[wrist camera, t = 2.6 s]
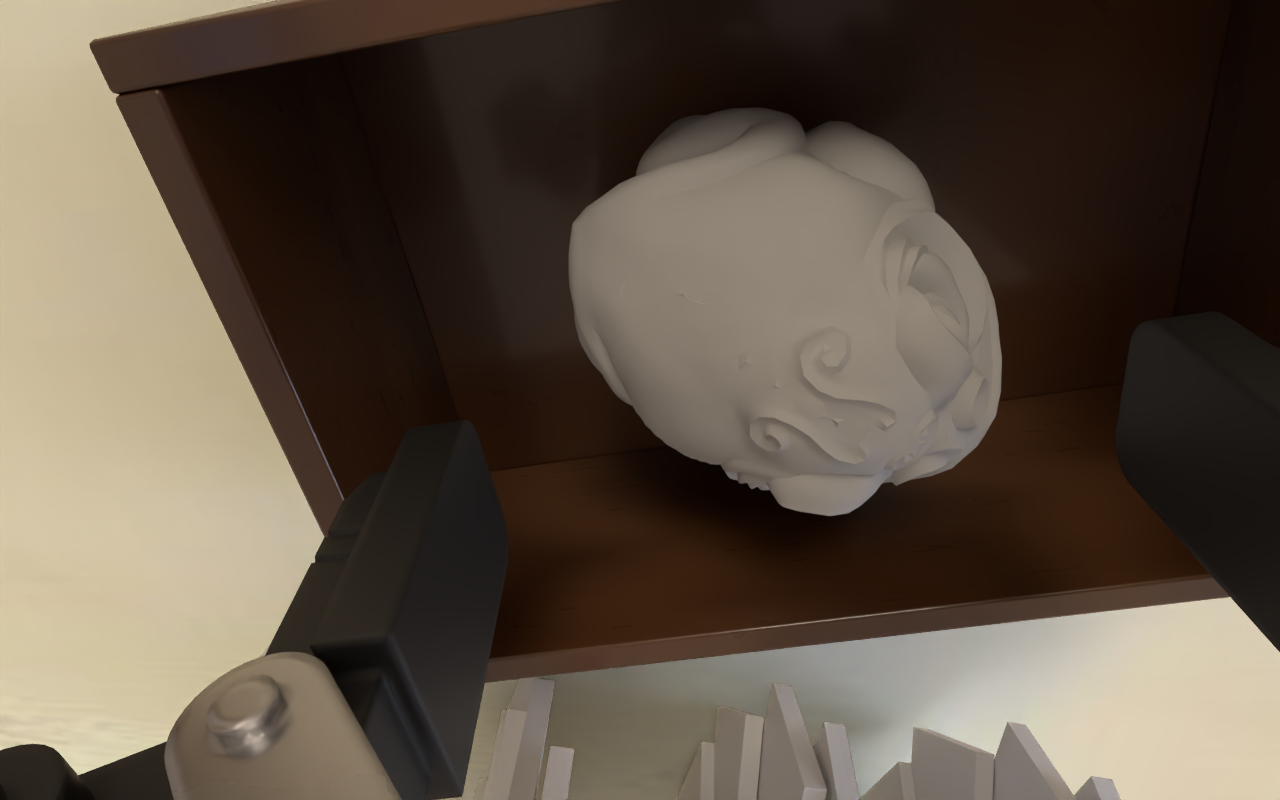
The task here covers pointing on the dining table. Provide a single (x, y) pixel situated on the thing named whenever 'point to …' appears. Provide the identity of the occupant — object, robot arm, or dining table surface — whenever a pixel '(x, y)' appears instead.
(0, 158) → the dining table surface
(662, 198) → the grey rounded lumpy piece
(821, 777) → the spiral staircase
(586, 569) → the chest
